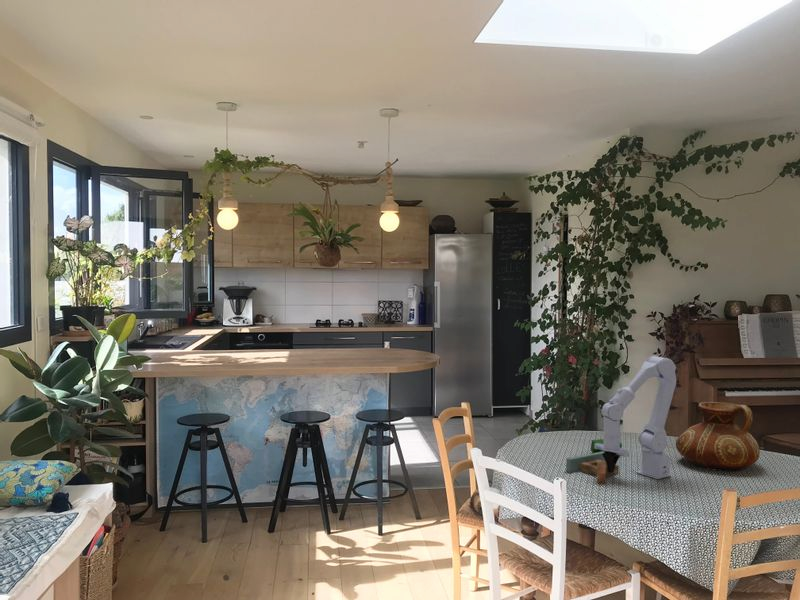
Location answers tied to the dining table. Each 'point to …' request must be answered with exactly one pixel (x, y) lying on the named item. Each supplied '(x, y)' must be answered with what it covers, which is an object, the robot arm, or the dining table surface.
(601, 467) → the dowel
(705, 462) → the jug
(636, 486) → the dining table surface
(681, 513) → the dining table surface
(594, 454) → the wall
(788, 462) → the dining table surface
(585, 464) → the square frame
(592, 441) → the clamp
